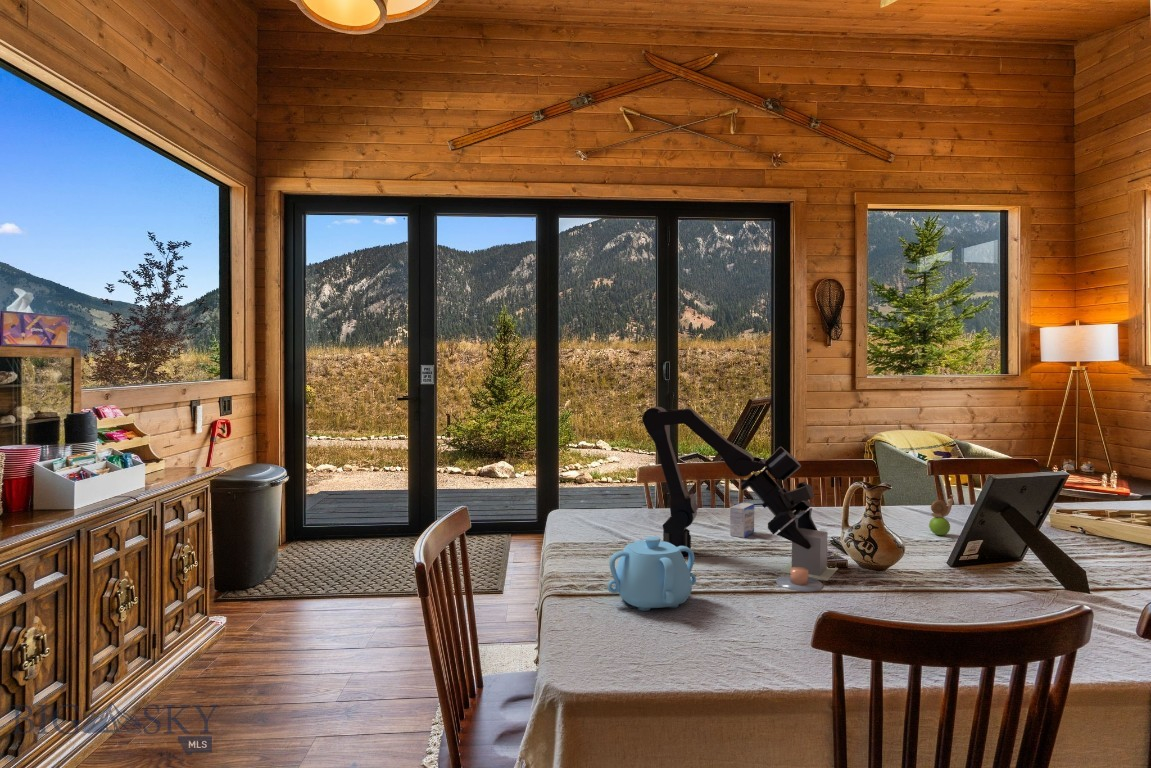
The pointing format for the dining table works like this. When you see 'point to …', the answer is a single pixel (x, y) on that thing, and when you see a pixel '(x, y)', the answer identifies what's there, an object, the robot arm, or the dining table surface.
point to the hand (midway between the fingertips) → (815, 543)
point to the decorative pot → (652, 574)
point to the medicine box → (742, 520)
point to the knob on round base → (799, 581)
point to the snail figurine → (940, 517)
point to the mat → (823, 576)
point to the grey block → (811, 552)
